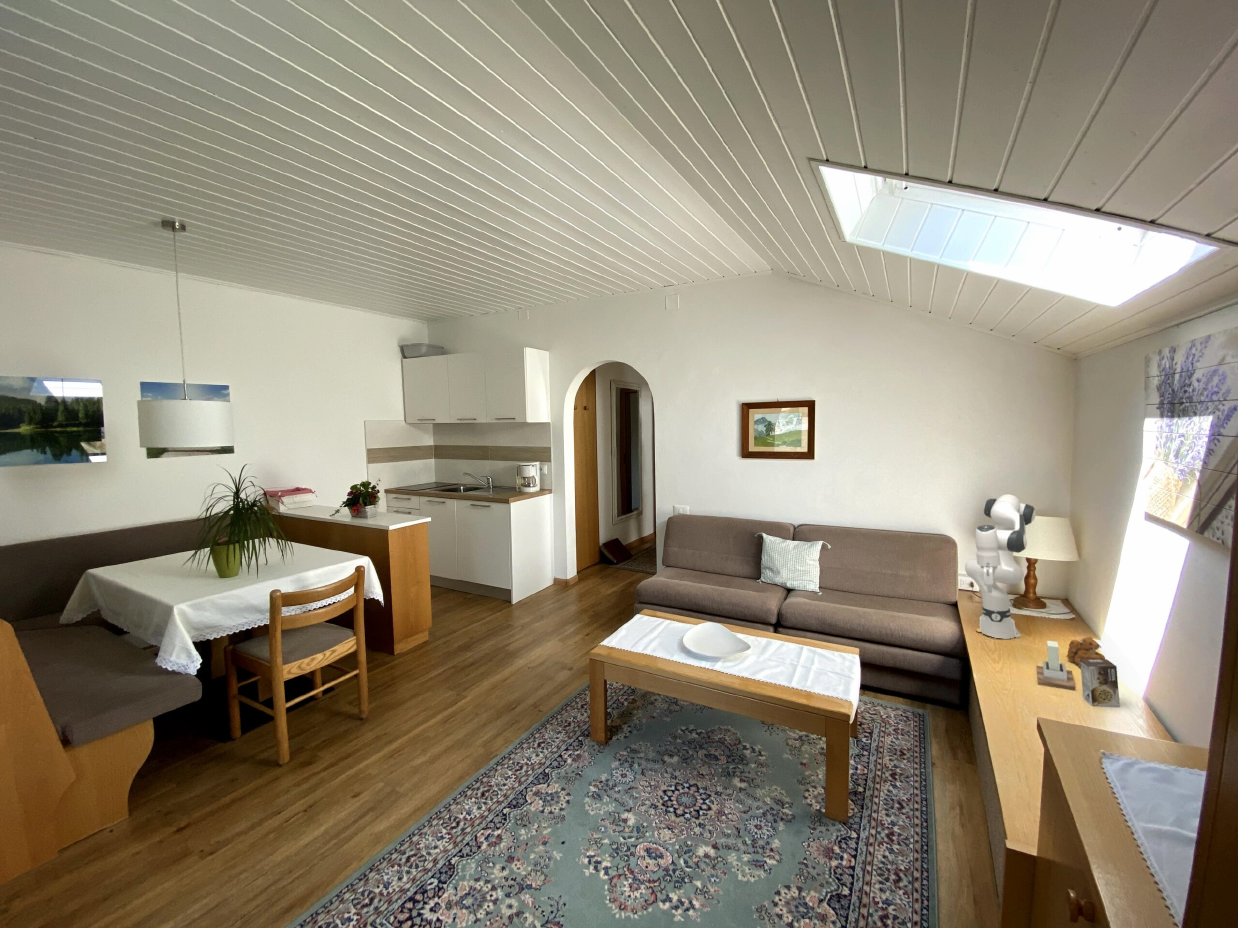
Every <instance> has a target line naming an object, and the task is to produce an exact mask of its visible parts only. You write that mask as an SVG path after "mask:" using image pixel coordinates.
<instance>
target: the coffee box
mask: <svg viewBox="0 0 1238 928" xmlns="http://www.w3.org/2000/svg"><path fill="white" fill-rule="evenodd" d="M1080 665H1081V668H1080V676H1081V686H1082V687H1081V690H1082V699H1083V698H1084V699H1083V700H1084V701H1086V702H1087V703H1088V705H1090V706H1091V705H1092V706H1091V707H1120V706H1121V705H1120V694H1119V693H1120V692H1119V691H1120V690H1119V683H1118V682H1119V681H1118V667H1117V665H1115V664H1114V663H1113V662H1111V661H1110V660H1108V659H1107V658H1105V659H1080ZM1093 705H1094V706H1093Z"/></svg>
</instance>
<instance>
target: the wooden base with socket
mask: <svg viewBox="0 0 1238 928" xmlns="http://www.w3.org/2000/svg"><path fill="white" fill-rule="evenodd" d="M1059 663H1060V671H1054V670H1049V663H1048V660H1042V666H1041V665H1036V675H1037V678H1036V679H1037V685H1038V686H1046V687H1052V688H1058V689H1063V690H1070V691H1076V683H1075V679H1074V674H1073V670H1069V669H1067V668H1066V667H1067V666H1066V663H1063V662H1062V663H1061V662H1059Z"/></svg>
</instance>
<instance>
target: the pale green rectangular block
mask: <svg viewBox="0 0 1238 928" xmlns="http://www.w3.org/2000/svg"><path fill="white" fill-rule="evenodd" d="M1058 643H1059V642H1058V641H1054V640H1053V641H1052V640H1046V644H1047V645H1046V646H1047V659H1048V660H1047V661H1048V663H1049V670H1054V671H1060V663H1061V662H1060V652H1059V644H1058Z"/></svg>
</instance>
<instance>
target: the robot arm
mask: <svg viewBox="0 0 1238 928" xmlns="http://www.w3.org/2000/svg"><path fill="white" fill-rule="evenodd" d="M1020 501H1021V500H1020V499H1019V498H1018V497H1017V496H1015V495H1013V494H1007V493H1006V494H1003V495H1000V496H999V497H998V498H989V499H987V500H986V501H985V502H984V504H983V508H982V511H983V515H985V516H986V517H988V518H990V519H992V521H993V522H995V524H994V525H990V524H983V525H978V526H977V527H976V529H975V537H974V538H975V539H974V540H975V542H974V543H975V546H976V553H975V554H976V558H970V559H969V560H968V561H967V562H966V563H965V566H964V571H965V573H966V574H967V576H968V577H970V578H971V579H972V580H973V581H974V582H975V583H976V585H977V586H978V588H979V590H980V593H981V599H982V607H981V611H982V615H980V616H979V626H980V631H981V632H983V633H985V634H987V635H989V636H992V637H996V638H1003V639H1002V640H1011V639H1014V637H1016V638H1022V637H1021V636H1022V635H1021V634H1020V632H1019V630H1018V629H1017V626H1016V624H1015V620H1014V619H1013V618H1012V617H1011V609H1010V603H1009V594H1008V593H1007V591H1006V590H1004V589H1003V588H1001V587H1000V586H999V585H998V584H1003V585H1018V584H1020V583H1021V582H1022V581H1023V579H1024V574H1025V573H1024V570H1023V569H1022V567H1021V566H1020V565H1019V564H1018V563H1017V562H1016V560H1015V558H1014V553H1016V554H1017V553H1018V554H1019V553H1021V552H1023V551H1024V550H1025V549H1027V546H1028V545H1027V543H1028V541H1027V537H1026V526H1028V525H1030V524H1031V523H1032V522H1033V521H1034V520H1035V518H1036V508H1035V507H1034V505H1031V504H1028V503H1023V502H1020ZM997 583H998V584H997ZM996 638H995V639H996ZM1010 638H1011V639H1010Z"/></svg>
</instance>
